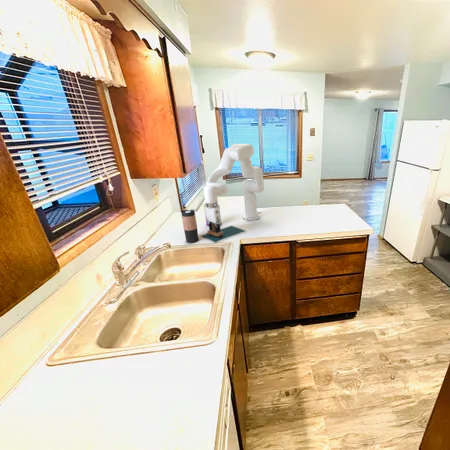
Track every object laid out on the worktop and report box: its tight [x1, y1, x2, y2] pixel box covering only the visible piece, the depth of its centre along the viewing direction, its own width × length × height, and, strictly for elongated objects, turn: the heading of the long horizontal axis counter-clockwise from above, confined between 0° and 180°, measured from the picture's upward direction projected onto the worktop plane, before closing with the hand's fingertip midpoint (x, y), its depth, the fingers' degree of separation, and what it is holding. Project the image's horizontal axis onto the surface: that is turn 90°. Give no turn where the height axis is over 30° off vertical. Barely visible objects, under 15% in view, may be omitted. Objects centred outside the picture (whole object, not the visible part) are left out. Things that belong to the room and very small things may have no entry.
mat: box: [201, 225, 246, 243], centre depth 164 cm, size 24×16×1 cm, turn 142°
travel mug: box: [180, 209, 199, 244], centre depth 150 cm, size 8×8×20 cm
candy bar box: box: [203, 203, 222, 227], centre depth 177 cm, size 11×5×16 cm, turn 62°
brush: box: [207, 223, 223, 239], centre depth 157 cm, size 4×10×10 cm, turn 61°
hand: (214, 230), depth 158 cm, fingers open, 6 cm apart
